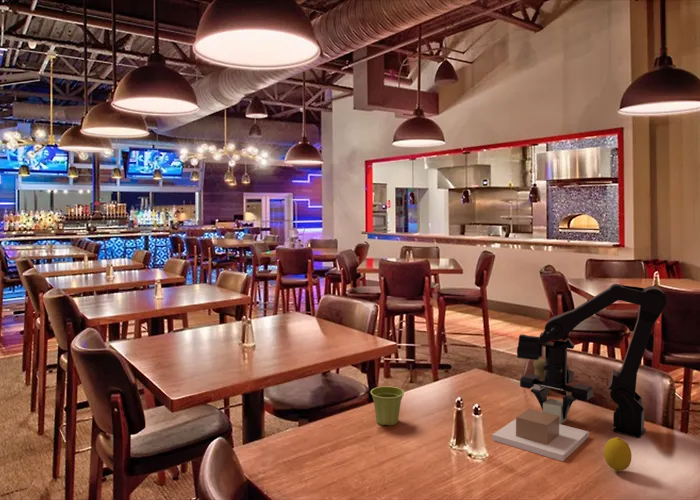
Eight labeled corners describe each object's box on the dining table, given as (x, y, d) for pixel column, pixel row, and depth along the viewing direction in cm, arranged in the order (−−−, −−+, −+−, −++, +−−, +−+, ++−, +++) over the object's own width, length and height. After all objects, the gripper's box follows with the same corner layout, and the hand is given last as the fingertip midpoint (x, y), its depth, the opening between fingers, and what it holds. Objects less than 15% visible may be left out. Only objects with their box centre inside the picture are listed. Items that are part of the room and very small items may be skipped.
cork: (554, 395, 170) (554, 362, 169) (535, 395, 170) (535, 362, 169) (547, 389, 176) (548, 356, 175) (529, 389, 176) (529, 356, 175)
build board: (588, 437, 138) (588, 412, 138) (562, 461, 125) (563, 434, 124) (522, 419, 150) (522, 397, 150) (492, 440, 137) (492, 415, 136)
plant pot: (411, 422, 149) (411, 392, 148) (385, 431, 143) (385, 399, 142) (389, 413, 156) (388, 384, 155) (364, 420, 150) (363, 390, 150)
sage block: (567, 419, 150) (567, 402, 150) (560, 424, 146) (560, 407, 146) (549, 415, 153) (549, 398, 153) (542, 420, 150) (542, 402, 149)
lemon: (628, 467, 121) (629, 433, 121) (632, 479, 116) (633, 443, 116) (602, 464, 123) (602, 430, 123) (605, 475, 118) (606, 440, 117)
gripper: (600, 361, 149) (598, 416, 150) (535, 350, 161) (534, 401, 162) (586, 370, 140) (585, 428, 141) (519, 358, 153) (518, 411, 154)
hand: (554, 416), depth 150 cm, fingers closed on sage block, 5 cm apart
